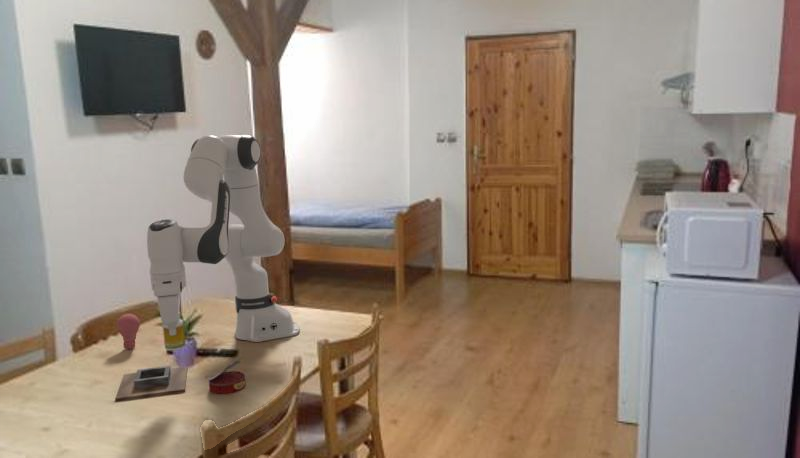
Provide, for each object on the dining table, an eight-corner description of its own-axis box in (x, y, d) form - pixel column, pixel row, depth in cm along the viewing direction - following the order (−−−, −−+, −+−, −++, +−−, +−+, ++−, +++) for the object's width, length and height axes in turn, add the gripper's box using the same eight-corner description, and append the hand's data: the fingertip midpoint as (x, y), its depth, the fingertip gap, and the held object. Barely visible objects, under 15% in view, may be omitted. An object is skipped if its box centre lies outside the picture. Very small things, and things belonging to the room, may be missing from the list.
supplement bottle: (188, 348, 177) (184, 313, 175) (167, 352, 174) (164, 317, 172) (182, 342, 181) (179, 308, 179) (162, 346, 178) (159, 312, 176)
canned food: (222, 411, 180) (203, 386, 175) (214, 394, 188) (196, 370, 184) (257, 386, 183) (239, 360, 178) (248, 371, 191) (230, 346, 187)
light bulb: (146, 345, 222) (142, 311, 220) (135, 352, 215) (131, 317, 213) (126, 345, 222) (122, 311, 220) (115, 352, 215) (111, 317, 213)
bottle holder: (187, 368, 199) (186, 358, 198) (185, 391, 182) (184, 380, 181) (124, 376, 194) (122, 366, 193) (115, 401, 177) (114, 389, 176)
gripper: (158, 273, 183) (163, 320, 186) (153, 292, 164) (159, 344, 166) (182, 271, 185) (186, 317, 187) (179, 289, 165) (184, 341, 168)
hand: (173, 330), depth 177 cm, fingers closed on supplement bottle, 5 cm apart
